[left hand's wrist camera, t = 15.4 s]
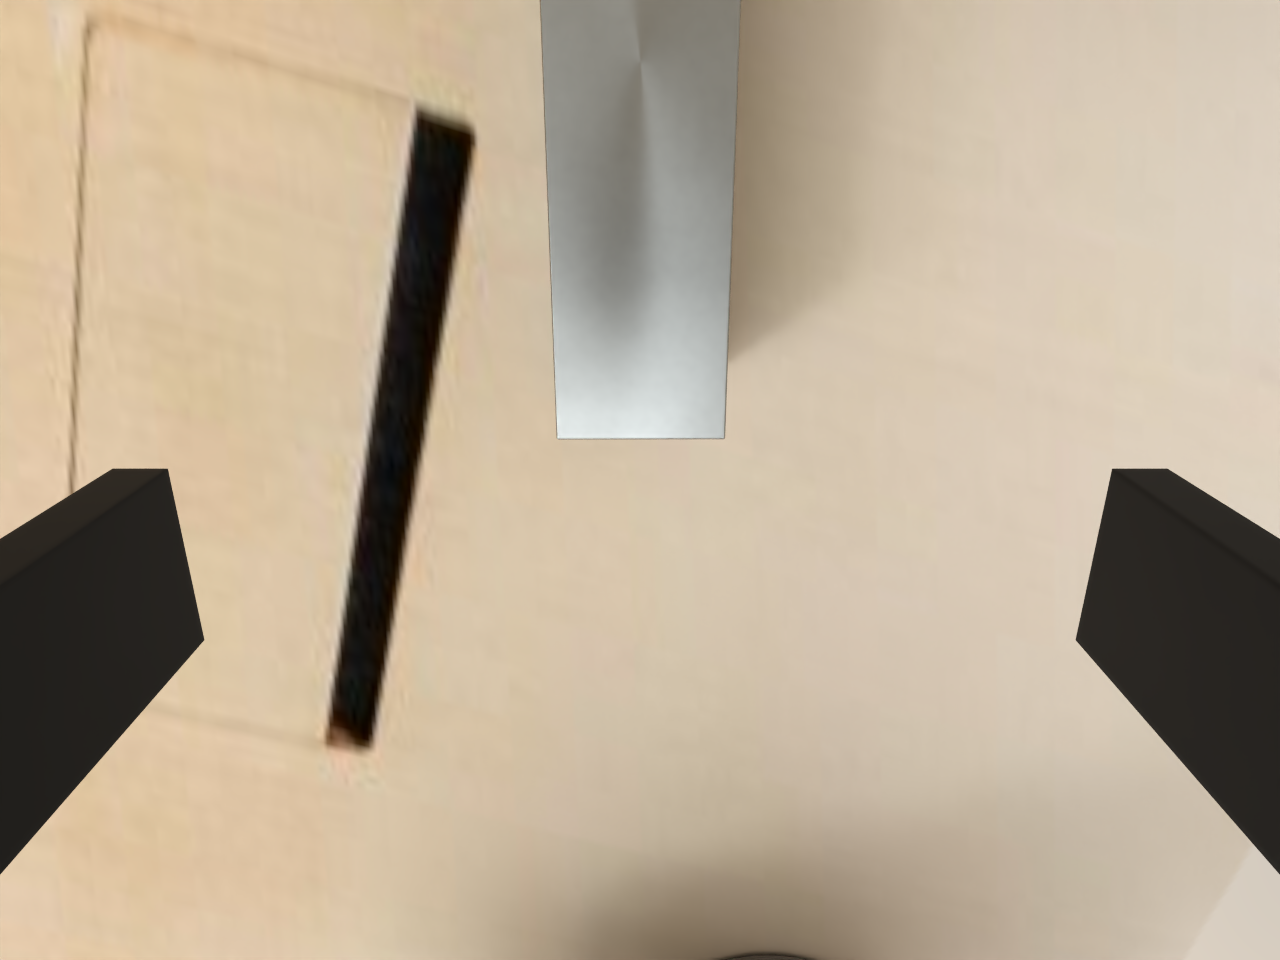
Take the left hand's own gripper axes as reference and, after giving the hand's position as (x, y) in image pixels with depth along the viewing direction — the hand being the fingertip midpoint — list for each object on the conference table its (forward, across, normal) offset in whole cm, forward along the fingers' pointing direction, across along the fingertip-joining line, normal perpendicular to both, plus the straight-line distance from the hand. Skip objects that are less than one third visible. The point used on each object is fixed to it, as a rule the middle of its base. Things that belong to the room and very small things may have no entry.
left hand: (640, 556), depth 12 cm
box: (+27, 0, -8) cm, 28 cm away
